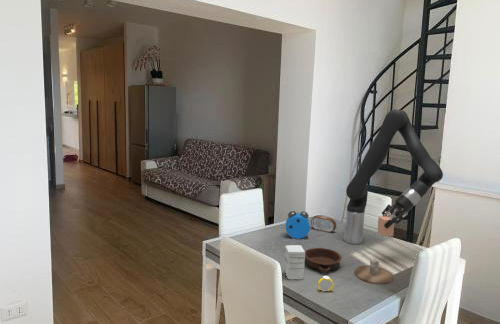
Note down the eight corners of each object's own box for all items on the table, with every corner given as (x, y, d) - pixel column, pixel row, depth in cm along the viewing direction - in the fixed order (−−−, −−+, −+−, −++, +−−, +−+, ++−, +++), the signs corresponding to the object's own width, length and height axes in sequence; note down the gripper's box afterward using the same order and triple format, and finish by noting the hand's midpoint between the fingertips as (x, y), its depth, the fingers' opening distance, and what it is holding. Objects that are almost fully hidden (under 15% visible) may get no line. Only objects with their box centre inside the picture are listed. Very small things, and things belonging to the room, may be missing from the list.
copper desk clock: (336, 232, 219) (337, 218, 218) (334, 234, 217) (335, 220, 215) (311, 227, 227) (312, 214, 226) (309, 228, 225) (310, 215, 223)
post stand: (350, 277, 163) (351, 262, 162) (360, 264, 177) (361, 250, 176) (388, 287, 155) (390, 271, 154) (396, 273, 169) (397, 258, 168)
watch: (331, 290, 153) (333, 276, 152) (333, 293, 150) (335, 279, 149) (316, 288, 153) (318, 274, 152) (317, 292, 150) (319, 278, 149)
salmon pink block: (382, 236, 176) (384, 219, 175) (377, 232, 181) (378, 216, 180) (393, 236, 177) (394, 219, 175) (387, 232, 182) (388, 216, 180)
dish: (303, 274, 166) (304, 263, 165) (302, 254, 188) (302, 244, 187) (344, 277, 164) (344, 266, 163) (338, 256, 186) (338, 247, 185)
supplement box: (283, 272, 167) (284, 245, 165) (300, 272, 168) (301, 244, 165) (286, 280, 160) (288, 251, 158) (304, 279, 160) (305, 251, 158)
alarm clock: (308, 236, 213) (309, 210, 210) (309, 240, 206) (310, 213, 204) (285, 234, 213) (286, 209, 211) (285, 238, 207) (286, 212, 205)
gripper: (395, 190, 184) (370, 215, 184) (412, 198, 170) (385, 224, 170) (404, 201, 186) (379, 225, 186) (421, 209, 172) (395, 235, 172)
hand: (382, 225), depth 178 cm, fingers closed on salmon pink block, 5 cm apart
